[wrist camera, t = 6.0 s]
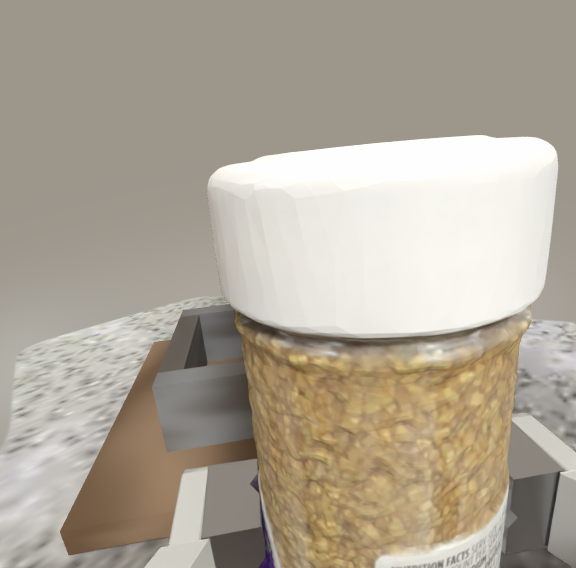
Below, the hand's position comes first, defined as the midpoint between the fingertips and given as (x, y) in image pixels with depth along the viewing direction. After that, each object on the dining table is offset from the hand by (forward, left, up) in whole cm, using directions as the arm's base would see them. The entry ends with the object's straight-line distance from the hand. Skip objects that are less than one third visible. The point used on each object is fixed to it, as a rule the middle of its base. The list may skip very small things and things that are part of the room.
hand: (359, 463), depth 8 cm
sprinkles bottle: (0, +1, -7) cm, 7 cm away
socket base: (+2, -13, -7) cm, 15 cm away
